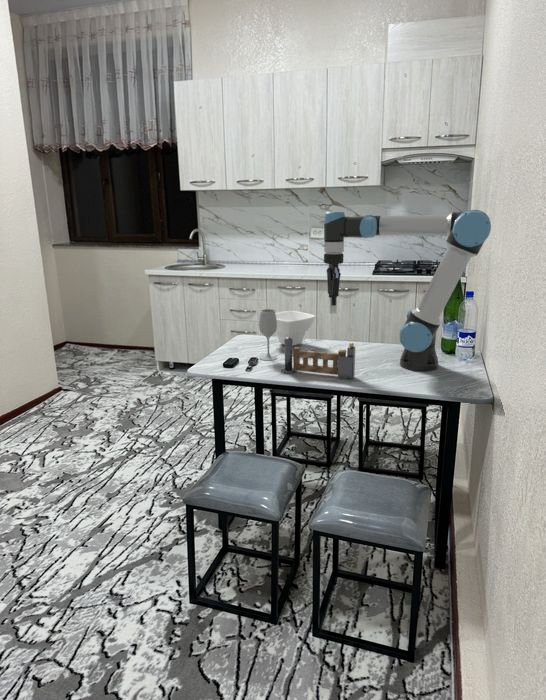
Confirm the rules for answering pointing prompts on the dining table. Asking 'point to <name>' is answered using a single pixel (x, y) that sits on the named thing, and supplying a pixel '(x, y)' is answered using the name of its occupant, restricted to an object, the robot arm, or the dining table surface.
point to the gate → (316, 361)
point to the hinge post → (288, 356)
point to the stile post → (347, 363)
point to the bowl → (293, 325)
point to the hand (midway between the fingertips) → (332, 312)
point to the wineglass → (268, 329)
